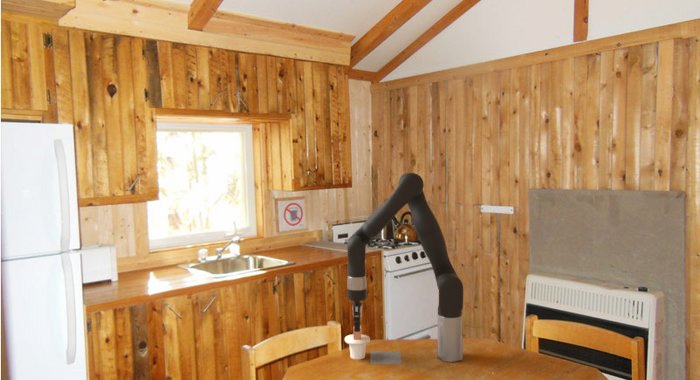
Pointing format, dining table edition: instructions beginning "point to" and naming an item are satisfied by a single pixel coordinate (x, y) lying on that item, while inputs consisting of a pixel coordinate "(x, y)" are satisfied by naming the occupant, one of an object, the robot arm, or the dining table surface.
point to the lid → (357, 338)
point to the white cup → (357, 351)
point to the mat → (385, 358)
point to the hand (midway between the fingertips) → (357, 327)
